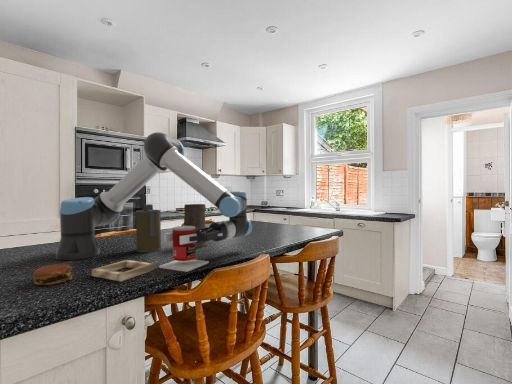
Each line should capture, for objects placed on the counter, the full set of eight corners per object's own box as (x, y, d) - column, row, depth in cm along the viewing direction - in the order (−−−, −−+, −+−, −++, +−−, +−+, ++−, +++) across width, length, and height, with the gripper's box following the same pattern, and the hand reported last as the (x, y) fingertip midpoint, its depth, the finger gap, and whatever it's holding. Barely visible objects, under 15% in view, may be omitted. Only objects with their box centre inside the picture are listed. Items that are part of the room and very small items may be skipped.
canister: (133, 249, 127) (133, 204, 126) (157, 246, 133) (156, 203, 133) (139, 253, 118) (139, 205, 118) (164, 250, 124) (164, 204, 124)
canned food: (190, 261, 95) (190, 228, 95) (168, 260, 97) (168, 228, 96) (199, 256, 102) (199, 225, 102) (179, 255, 104) (178, 225, 104)
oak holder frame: (91, 275, 88) (91, 269, 88) (126, 265, 100) (126, 259, 100) (120, 281, 82) (120, 274, 82) (154, 269, 94) (154, 263, 94)
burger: (34, 280, 85) (34, 264, 85) (71, 274, 90) (71, 260, 90) (31, 290, 77) (31, 272, 77) (72, 283, 82) (72, 267, 82)
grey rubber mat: (158, 267, 97) (158, 265, 97) (182, 259, 108) (182, 258, 108) (187, 271, 92) (187, 269, 92) (208, 262, 102) (208, 261, 102)
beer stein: (204, 248, 128) (204, 203, 129) (180, 248, 128) (180, 203, 129) (210, 243, 143) (210, 204, 144) (189, 243, 143) (189, 204, 145)
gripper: (241, 243, 107) (192, 254, 89) (204, 237, 120) (155, 246, 102) (240, 223, 107) (191, 230, 89) (204, 219, 120) (155, 225, 102)
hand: (172, 239), depth 96 cm, fingers closed on canned food, 8 cm apart
